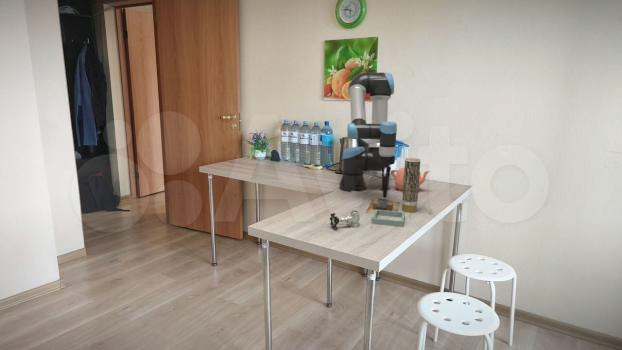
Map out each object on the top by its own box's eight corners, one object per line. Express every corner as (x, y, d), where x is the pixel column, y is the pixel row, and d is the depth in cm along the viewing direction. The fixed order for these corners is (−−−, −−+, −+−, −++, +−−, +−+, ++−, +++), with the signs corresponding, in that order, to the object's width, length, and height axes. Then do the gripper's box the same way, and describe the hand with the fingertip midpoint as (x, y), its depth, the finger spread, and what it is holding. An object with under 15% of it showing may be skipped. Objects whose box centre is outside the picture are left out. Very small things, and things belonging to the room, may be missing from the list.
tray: (371, 225, 169) (371, 218, 168) (375, 215, 181) (375, 209, 180) (402, 228, 165) (403, 221, 165) (404, 218, 178) (404, 212, 177)
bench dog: (376, 212, 183) (377, 200, 181) (377, 210, 185) (378, 198, 184) (385, 213, 182) (386, 201, 180) (386, 211, 184) (387, 199, 183)
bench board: (365, 214, 183) (365, 212, 183) (371, 201, 203) (371, 199, 203) (396, 217, 179) (396, 215, 179) (400, 203, 200) (400, 202, 199)
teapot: (388, 187, 231) (389, 165, 228) (411, 185, 236) (412, 163, 233) (405, 195, 215) (406, 171, 212) (429, 192, 221) (431, 169, 218)
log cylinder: (417, 210, 189) (421, 158, 183) (415, 215, 183) (419, 161, 177) (402, 209, 191) (405, 157, 186) (400, 213, 185) (404, 160, 179)
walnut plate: (372, 209, 188) (372, 203, 187) (374, 205, 194) (374, 199, 194) (391, 211, 185) (392, 205, 185) (393, 206, 192) (393, 200, 191)
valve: (355, 223, 172) (329, 225, 168) (356, 208, 170) (329, 210, 166) (362, 228, 166) (335, 231, 162) (362, 213, 164) (335, 215, 160)
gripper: (394, 158, 181) (391, 207, 186) (396, 153, 193) (393, 200, 198) (377, 157, 183) (375, 206, 188) (380, 152, 195) (378, 198, 200)
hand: (384, 203), depth 193 cm, fingers closed
